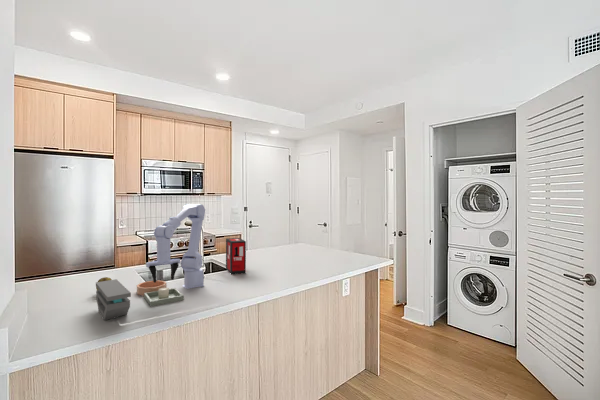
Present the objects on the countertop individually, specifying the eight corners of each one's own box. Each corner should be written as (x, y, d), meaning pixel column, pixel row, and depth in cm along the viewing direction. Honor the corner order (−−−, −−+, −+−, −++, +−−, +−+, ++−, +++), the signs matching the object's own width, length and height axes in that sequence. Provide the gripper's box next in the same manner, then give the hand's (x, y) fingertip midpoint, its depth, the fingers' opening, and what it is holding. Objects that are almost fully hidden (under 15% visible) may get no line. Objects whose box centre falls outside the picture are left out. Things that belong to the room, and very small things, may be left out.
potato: (93, 300, 141) (93, 283, 141) (97, 292, 153) (97, 276, 153) (114, 298, 145) (114, 281, 145) (116, 290, 156) (116, 274, 156)
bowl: (162, 286, 163) (162, 279, 163) (169, 293, 153) (169, 285, 153) (135, 291, 155) (134, 283, 155) (139, 298, 145) (139, 289, 145)
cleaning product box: (245, 273, 193) (245, 241, 192) (231, 274, 189) (231, 242, 189) (239, 267, 208) (239, 237, 207) (225, 268, 204) (226, 238, 204)
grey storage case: (95, 307, 133) (95, 282, 133) (116, 303, 138) (116, 279, 138) (107, 326, 115) (107, 297, 114) (130, 320, 120) (130, 292, 120)
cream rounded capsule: (167, 296, 146) (167, 287, 146) (169, 298, 143) (169, 289, 143) (157, 298, 144) (157, 288, 144) (159, 300, 140) (159, 291, 140)
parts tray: (175, 293, 153) (175, 287, 153) (183, 301, 142) (183, 295, 142) (144, 298, 145) (144, 293, 145) (150, 307, 133) (150, 301, 133)
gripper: (148, 254, 135) (148, 285, 135) (182, 251, 144) (182, 280, 144) (145, 252, 141) (145, 281, 141) (177, 248, 150) (177, 276, 150)
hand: (163, 280), depth 143 cm, fingers open, 7 cm apart
